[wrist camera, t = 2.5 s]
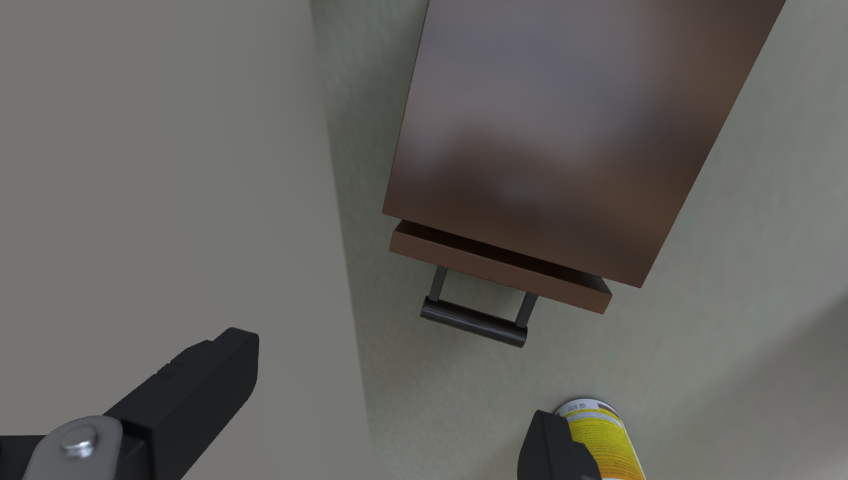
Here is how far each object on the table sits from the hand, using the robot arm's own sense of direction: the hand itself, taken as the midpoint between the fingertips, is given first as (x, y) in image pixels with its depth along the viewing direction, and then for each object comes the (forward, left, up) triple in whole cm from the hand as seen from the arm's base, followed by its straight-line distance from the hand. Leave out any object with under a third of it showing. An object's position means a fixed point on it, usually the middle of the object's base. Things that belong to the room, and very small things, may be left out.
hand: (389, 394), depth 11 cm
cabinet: (-3, -9, -19) cm, 21 cm away
